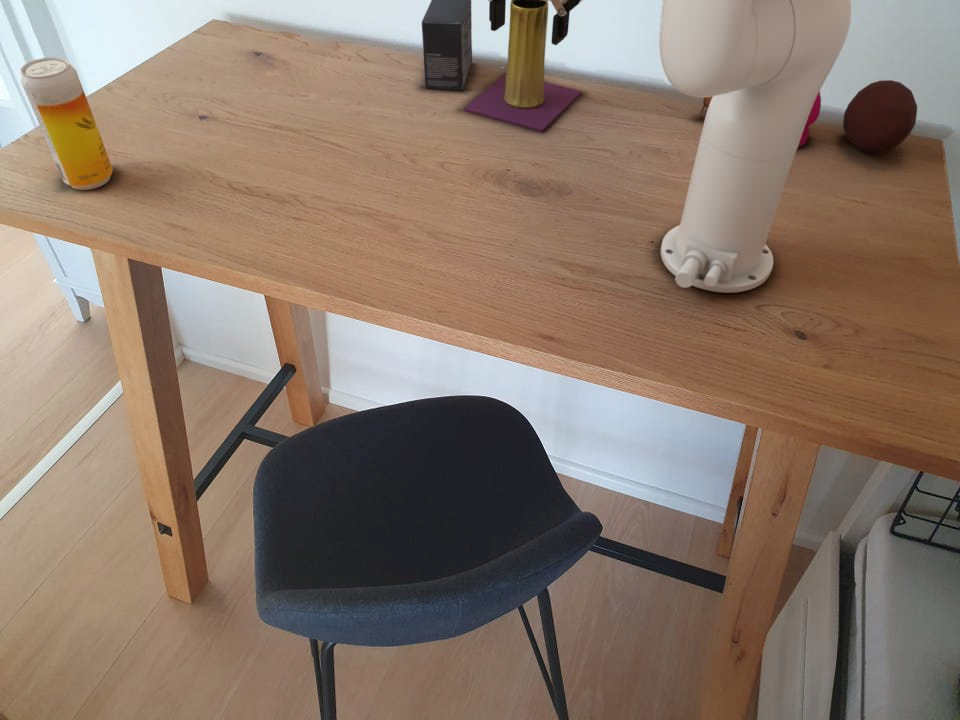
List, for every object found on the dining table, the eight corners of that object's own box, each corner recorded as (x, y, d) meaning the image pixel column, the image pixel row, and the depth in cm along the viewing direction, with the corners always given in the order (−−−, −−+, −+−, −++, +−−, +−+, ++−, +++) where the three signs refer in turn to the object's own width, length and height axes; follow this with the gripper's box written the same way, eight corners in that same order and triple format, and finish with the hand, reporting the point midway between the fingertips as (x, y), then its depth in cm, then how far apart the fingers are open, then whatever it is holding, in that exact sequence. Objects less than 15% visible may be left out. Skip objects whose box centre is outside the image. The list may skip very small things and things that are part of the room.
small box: (434, 60, 127) (431, -7, 119) (473, 62, 126) (473, -4, 119) (422, 88, 119) (419, 19, 112) (464, 91, 119) (463, 22, 111)
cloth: (542, 132, 110) (542, 129, 109) (463, 110, 114) (463, 108, 114) (581, 93, 118) (581, 91, 118) (507, 75, 123) (507, 72, 123)
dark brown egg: (893, 131, 111) (920, 69, 104) (906, 174, 103) (936, 109, 96) (831, 124, 112) (853, 61, 106) (838, 165, 104) (863, 100, 97)
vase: (549, 94, 117) (556, -3, 107) (538, 111, 113) (544, 12, 103) (511, 88, 119) (514, -9, 109) (498, 105, 115) (501, 6, 105)
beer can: (123, 179, 100) (82, 66, 89) (78, 197, 97) (30, 83, 86) (100, 162, 103) (58, 51, 92) (56, 179, 99) (7, 66, 89)
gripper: (460, -105, 98) (461, 31, 110) (585, -85, 92) (572, 57, 104) (489, -118, 102) (487, 14, 114) (609, -100, 96) (593, 37, 108)
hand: (527, 34), depth 109 cm, fingers open, 9 cm apart
